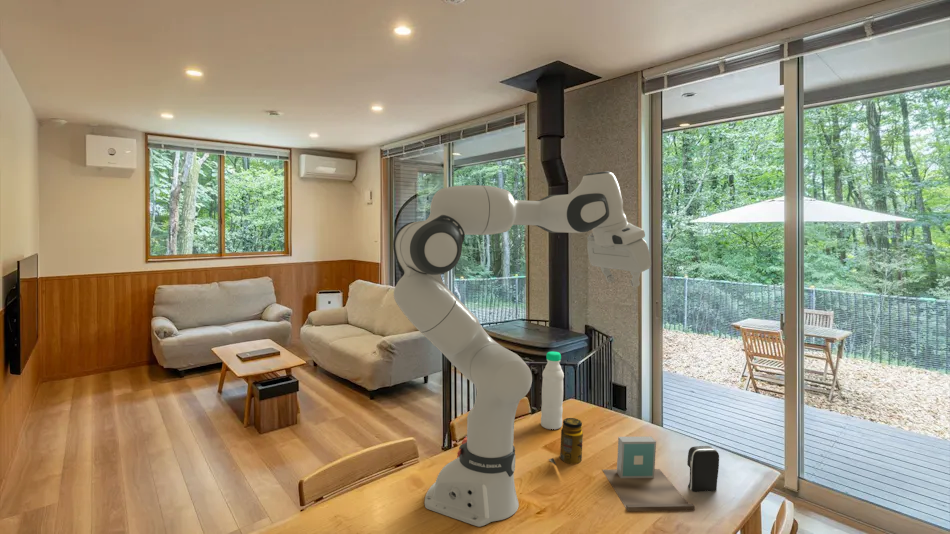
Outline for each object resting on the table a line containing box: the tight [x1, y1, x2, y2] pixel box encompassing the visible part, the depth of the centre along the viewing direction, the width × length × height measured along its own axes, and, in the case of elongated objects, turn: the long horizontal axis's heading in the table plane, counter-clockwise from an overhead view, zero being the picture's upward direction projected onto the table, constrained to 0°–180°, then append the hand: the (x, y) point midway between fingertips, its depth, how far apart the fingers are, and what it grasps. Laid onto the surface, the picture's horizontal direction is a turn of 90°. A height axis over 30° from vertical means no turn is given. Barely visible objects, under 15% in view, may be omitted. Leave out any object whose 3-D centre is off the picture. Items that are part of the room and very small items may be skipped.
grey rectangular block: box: [616, 436, 657, 478], centre depth 128 cm, size 9×3×10 cm, turn 93°
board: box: [602, 468, 696, 512], centre depth 122 cm, size 19×16×2 cm
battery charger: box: [687, 445, 720, 493], centre depth 123 cm, size 7×4×11 cm, turn 96°
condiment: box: [548, 417, 584, 466], centre depth 136 cm, size 7×8×12 cm
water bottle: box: [540, 351, 565, 431], centre depth 160 cm, size 7×7×25 cm
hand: (623, 283), depth 126 cm, fingers open, 8 cm apart
